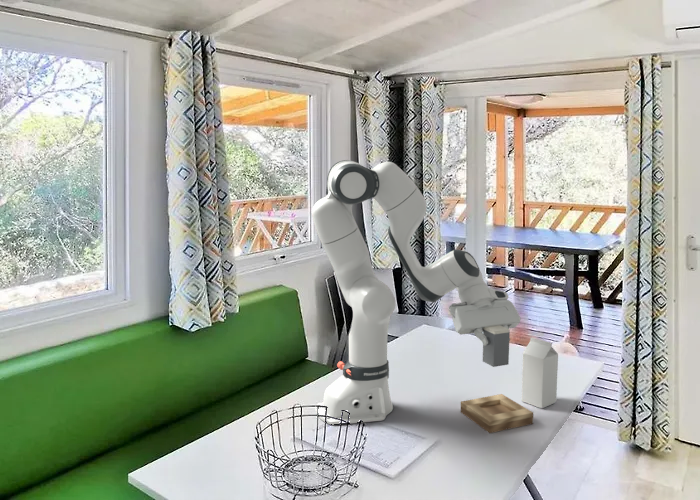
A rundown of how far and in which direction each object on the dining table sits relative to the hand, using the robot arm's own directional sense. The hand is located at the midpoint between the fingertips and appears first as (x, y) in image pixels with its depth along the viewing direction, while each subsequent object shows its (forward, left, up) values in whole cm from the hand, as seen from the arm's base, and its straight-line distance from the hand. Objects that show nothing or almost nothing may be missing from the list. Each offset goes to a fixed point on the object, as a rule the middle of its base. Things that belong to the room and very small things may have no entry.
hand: (497, 343), depth 158 cm
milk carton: (+17, +3, -21) cm, 27 cm away
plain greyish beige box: (0, +1, -6) cm, 6 cm away
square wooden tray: (-1, -1, -21) cm, 21 cm away
